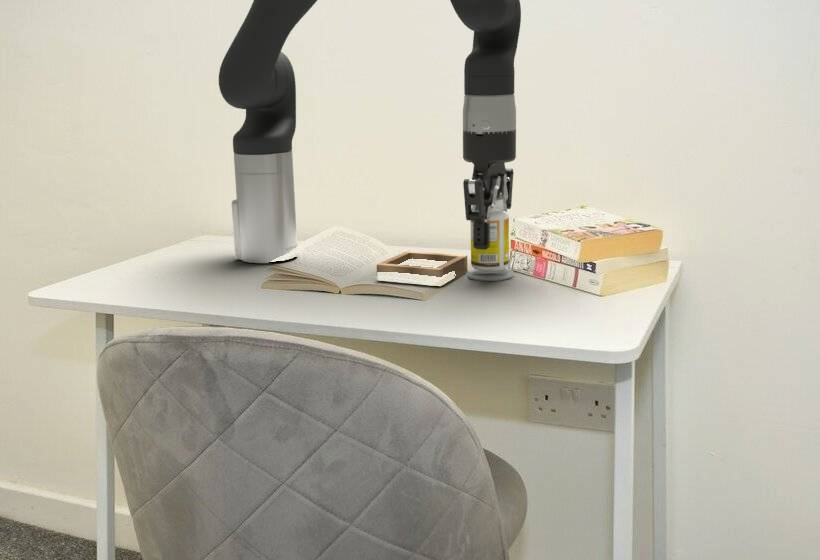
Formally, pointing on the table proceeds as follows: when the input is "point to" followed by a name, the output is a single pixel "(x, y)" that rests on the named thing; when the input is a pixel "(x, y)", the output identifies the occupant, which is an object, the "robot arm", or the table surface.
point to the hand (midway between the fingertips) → (489, 244)
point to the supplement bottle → (493, 242)
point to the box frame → (453, 264)
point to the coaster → (490, 275)
